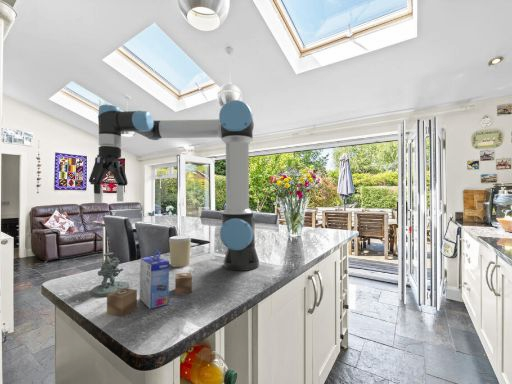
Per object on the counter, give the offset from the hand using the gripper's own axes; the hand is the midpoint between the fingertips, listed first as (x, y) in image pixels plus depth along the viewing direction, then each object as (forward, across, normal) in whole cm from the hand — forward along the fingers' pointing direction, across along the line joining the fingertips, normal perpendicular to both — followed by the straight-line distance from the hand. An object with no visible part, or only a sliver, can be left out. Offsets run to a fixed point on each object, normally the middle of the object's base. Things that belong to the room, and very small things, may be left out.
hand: (110, 202), depth 97 cm
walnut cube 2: (+28, +15, +33) cm, 46 cm away
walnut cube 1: (+28, +29, +21) cm, 45 cm away
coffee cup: (+28, -14, +22) cm, 39 cm away
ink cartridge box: (+28, +23, +27) cm, 45 cm away
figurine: (+28, +15, +9) cm, 33 cm away
